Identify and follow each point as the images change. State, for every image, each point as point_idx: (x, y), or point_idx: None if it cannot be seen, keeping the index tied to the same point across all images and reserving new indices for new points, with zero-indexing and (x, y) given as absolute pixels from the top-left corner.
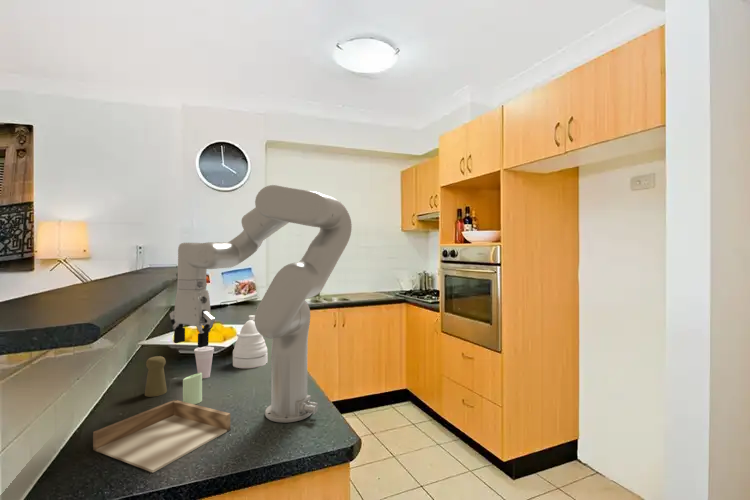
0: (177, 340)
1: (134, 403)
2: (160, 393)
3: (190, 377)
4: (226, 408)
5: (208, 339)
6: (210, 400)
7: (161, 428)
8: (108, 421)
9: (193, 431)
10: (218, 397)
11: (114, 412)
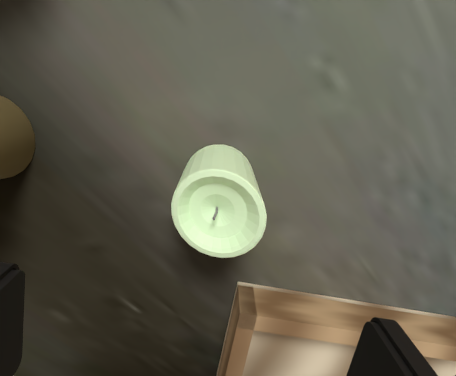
0: (6, 367)
1: (17, 244)
2: (29, 154)
3: (189, 193)
4: (385, 196)
5: (427, 362)
6: (279, 147)
7: (280, 371)
8: (78, 362)
9: None
10: (292, 110)
11: (29, 315)
